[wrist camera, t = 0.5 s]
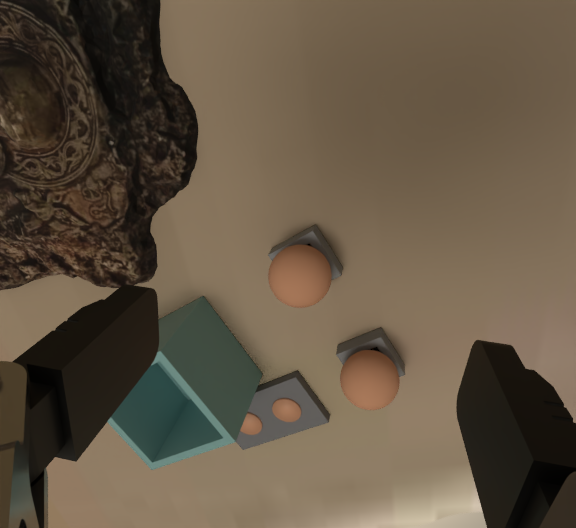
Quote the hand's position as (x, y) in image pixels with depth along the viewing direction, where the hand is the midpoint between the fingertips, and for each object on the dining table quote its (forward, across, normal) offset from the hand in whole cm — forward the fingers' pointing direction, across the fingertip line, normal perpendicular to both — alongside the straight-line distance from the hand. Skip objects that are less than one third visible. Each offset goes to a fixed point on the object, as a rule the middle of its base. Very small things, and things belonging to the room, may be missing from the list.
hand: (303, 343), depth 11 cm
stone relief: (+19, +24, -1) cm, 31 cm away
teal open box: (+19, +10, +15) cm, 26 cm away
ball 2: (+15, -4, +12) cm, 20 cm away
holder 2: (+18, -4, +12) cm, 22 cm away
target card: (+19, +4, +20) cm, 28 cm away
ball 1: (+15, +2, +5) cm, 16 cm away
